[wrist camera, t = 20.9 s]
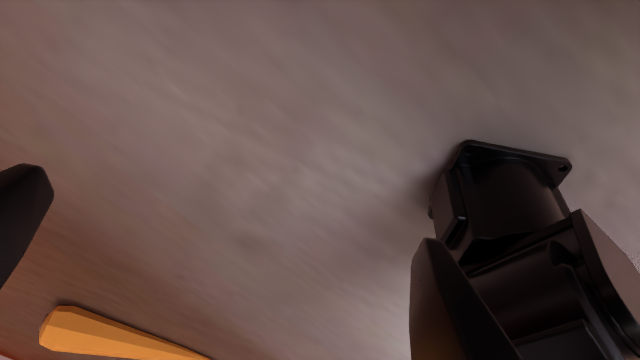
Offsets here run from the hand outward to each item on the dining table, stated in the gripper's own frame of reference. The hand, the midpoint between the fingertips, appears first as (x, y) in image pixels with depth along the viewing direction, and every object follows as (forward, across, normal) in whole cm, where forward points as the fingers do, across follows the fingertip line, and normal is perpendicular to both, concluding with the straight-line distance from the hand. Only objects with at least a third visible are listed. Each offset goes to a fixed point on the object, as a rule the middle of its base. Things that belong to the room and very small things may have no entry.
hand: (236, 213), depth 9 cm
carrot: (+13, +14, +39) cm, 43 cm away
